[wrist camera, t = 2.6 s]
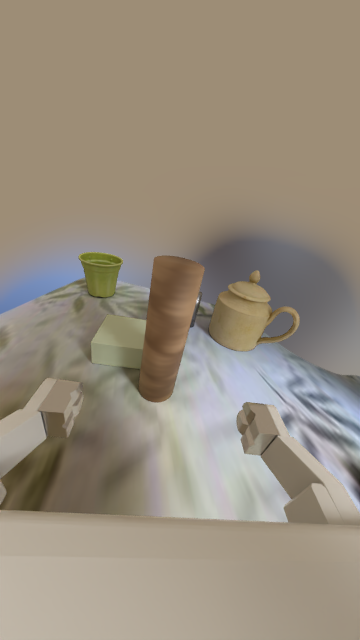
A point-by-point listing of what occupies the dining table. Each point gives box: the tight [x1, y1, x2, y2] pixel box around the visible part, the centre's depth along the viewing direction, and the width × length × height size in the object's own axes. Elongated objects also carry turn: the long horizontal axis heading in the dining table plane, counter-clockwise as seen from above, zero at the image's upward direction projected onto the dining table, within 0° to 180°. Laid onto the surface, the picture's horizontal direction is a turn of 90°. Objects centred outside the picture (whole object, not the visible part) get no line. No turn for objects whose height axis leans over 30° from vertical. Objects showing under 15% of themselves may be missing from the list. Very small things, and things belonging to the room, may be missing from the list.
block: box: [91, 314, 146, 369], centre depth 33 cm, size 8×8×4 cm
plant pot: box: [79, 252, 123, 298], centre depth 47 cm, size 9×9×9 cm
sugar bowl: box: [209, 271, 300, 351], centre depth 40 cm, size 15×11×15 cm
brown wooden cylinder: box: [138, 256, 205, 402], centre depth 24 cm, size 5×5×18 cm
